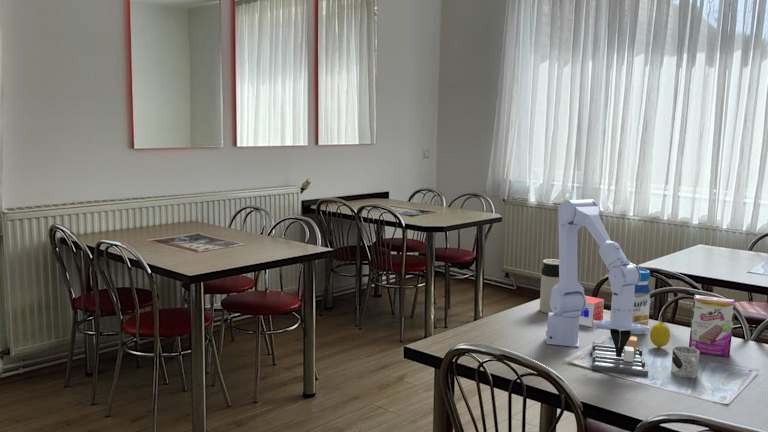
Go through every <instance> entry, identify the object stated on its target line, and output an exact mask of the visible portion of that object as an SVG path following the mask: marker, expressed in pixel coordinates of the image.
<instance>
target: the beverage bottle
mask: <svg viewBox="0 0 768 432" xmlns="http://www.w3.org/2000/svg"><path fill="white" fill-rule="evenodd" d="M638 269H639V271H640V275H641V277H640V281H639V283H638V284H636V285H635V292H634V305H633V318H632V323H635V324H640V325H646V326H649V317H650V307H651V302H652V297H651V294H652V290H651V289H652V288H651V287H650V285H649V282H650V279H651V272H650V270H648V269H645V268H639V267H638ZM633 334H634V335H645V334H644V333H636V332H631V335H633Z"/></svg>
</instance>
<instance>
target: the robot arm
mask: <svg viewBox="0 0 768 432" xmlns="http://www.w3.org/2000/svg"><path fill="white" fill-rule="evenodd" d="M557 208H558V209H557V211H558V216H557V217H558V260H559V283H558V284H556V285H555V286H554V287H553V288H552V294H551V298H550V307H551V310H552V311H553V313H552V312H549V313H547V315H548V316H547V326H546V327H547V329H546V330H545V331H546V332H545V336H546V344H547V345H554V346H562V347H563V346H565V347H574V348H575V347H576V348H579V347H580V338H579V330H580V324H579V317H580V315H581V314H582V311H583V310H584V309H585V308H586V297H585V296H586V295H585V288H584V287H583V286H582V285H581V284H580V283H579V281H578V280H579V279H578V278H579V276H578V275H579V274H578V273H579V272H578V270H579V269H578V266H579V264H578V257H579V256H578V231H579V229H580V228H582V226H583V227H585V228H586V229H587V230H588V232H589V233H590V235H591V236H592V237H593V239H594V240H595V242H596V243H597V245H598V246H599V249H598V254H599V256H600V258H601V259H602V261H603V263H604V264H605V266H606V268H607V270H608V272H609V273H608V274H607V275H608V281H609V283H610V292H611V302H610V305H611V306H610V316H609V317H610V319H609V320H603V321H595V320H593V327H592V330H598V329H599V330H607V331H609V332H610V336H611V338H612V342H613V345H615V349H616V357H619V358H621V356H622V352H623V349H624V347H625V346H627V342H628V340H629V339H630V336H631V335H632V333H631V332H636V333H644V334H643V335H649V336H650V326H649V325H648V326H646V325H640V324H635V323H632V318H633V305H634V292H635V285H636V284H638V283H639V281H640V277H641V275H640V271H639V269H638V268H639V266H638V265H636V264H634V263H632V261H630V260H628V258H627V256H626V255H625V253H624V252H623V250H622V247H621V246H620V244H619V243H618V242H616V241H612V240H611V237H610V236H609V233H608V232H607V230H606V227H605V226H604V223H603V222H602V219H601V217H600V214H601V210H600V207H598V204H597V202H596V200H594V199H592V198H588V199H565V200H563V201H562V202H561V203H560V204H559V205H558V207H557Z"/></svg>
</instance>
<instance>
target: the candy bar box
mask: <svg viewBox="0 0 768 432" xmlns="http://www.w3.org/2000/svg"><path fill="white" fill-rule="evenodd" d="M735 311H736V300H735V299H731V298H730V299H729V298H724V297H721V298H720V297H715V296H708V295H701V294H700V295H699V294H694V296H693V304H692V312H691V313H692V314H691V321H690V332H689V341H688V342H689V343H688V347H691V348H695V349H697V350H699V351H700V354H705V355H712V356H718V357H723V358H724V357H726V358H730V354H731V345H732V336H733V330H734V329H733V328H734V326H733V325H734V319H735Z"/></svg>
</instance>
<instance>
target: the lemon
mask: <svg viewBox="0 0 768 432" xmlns="http://www.w3.org/2000/svg"><path fill="white" fill-rule="evenodd" d="M649 338H650V341H651V343H652V345H654V346H655V347H656V348H657V349H661V348H663V347H665V346H667V345H668V343H670V339H671V333H670V329H669V327H668V326H667V325H666V324H664V323H663V322H657V323H655V324H654V325H652V327H651V329H650V331H649Z"/></svg>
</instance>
